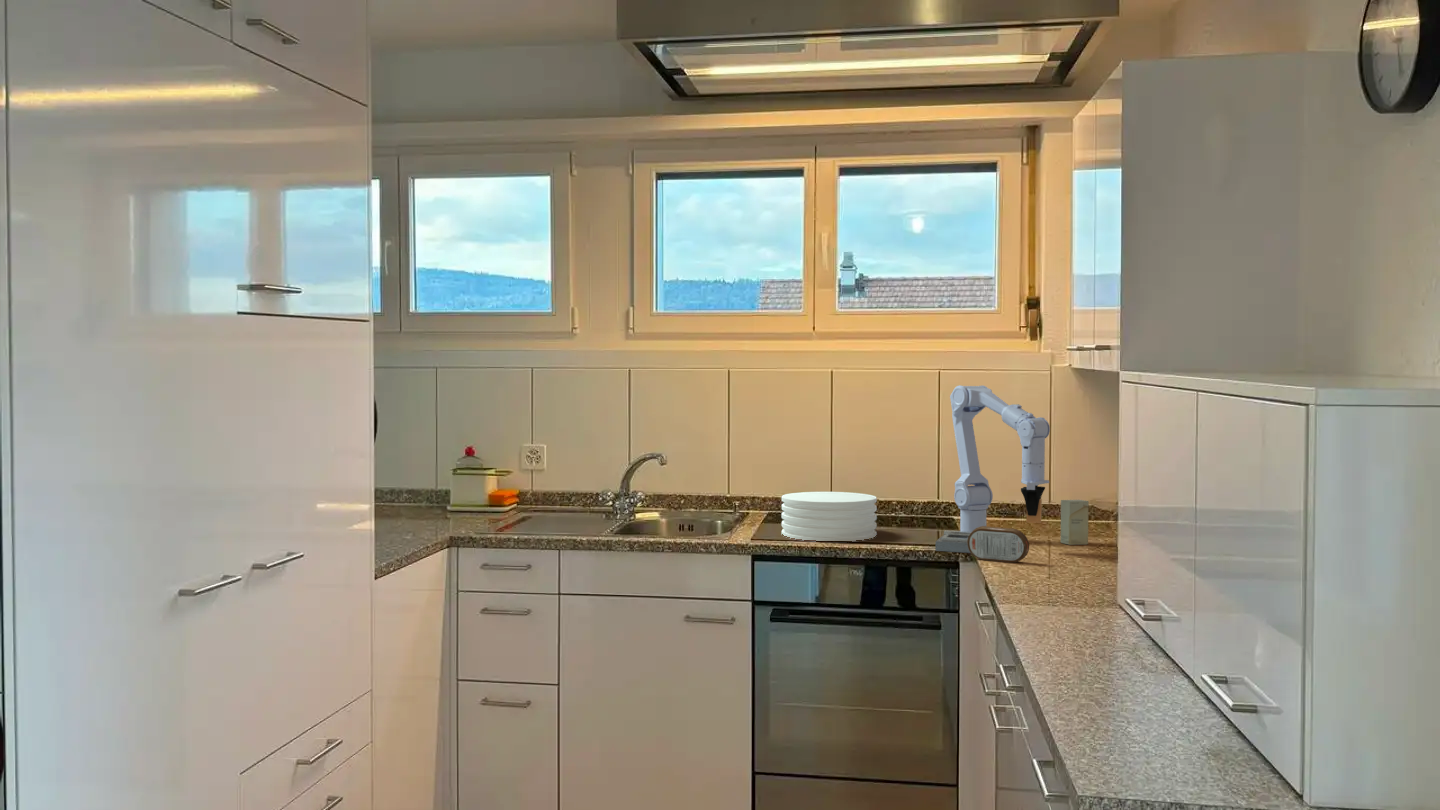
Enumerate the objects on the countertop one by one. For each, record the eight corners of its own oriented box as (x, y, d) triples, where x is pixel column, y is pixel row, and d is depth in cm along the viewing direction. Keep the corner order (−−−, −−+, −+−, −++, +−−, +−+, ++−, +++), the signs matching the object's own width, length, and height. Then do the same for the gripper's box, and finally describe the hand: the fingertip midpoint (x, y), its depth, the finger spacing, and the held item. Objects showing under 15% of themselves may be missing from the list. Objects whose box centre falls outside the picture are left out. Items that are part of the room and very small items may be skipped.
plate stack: (883, 542, 272) (883, 502, 271) (783, 542, 272) (783, 501, 272) (869, 528, 300) (869, 491, 299) (779, 528, 300) (779, 491, 300)
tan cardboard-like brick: (1027, 520, 258) (1027, 498, 257) (1041, 521, 256) (1041, 498, 256) (1026, 522, 254) (1026, 499, 254) (1040, 523, 253) (1040, 500, 253)
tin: (1029, 562, 239) (1029, 529, 239) (1026, 564, 237) (1026, 530, 236) (969, 557, 247) (969, 524, 247) (965, 559, 244) (966, 526, 244)
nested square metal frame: (943, 544, 268) (943, 530, 268) (980, 546, 264) (980, 532, 264) (935, 550, 257) (935, 536, 257) (973, 553, 253) (973, 538, 253)
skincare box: (1069, 545, 266) (1069, 501, 265) (1059, 543, 270) (1059, 499, 270) (1089, 544, 267) (1089, 500, 267) (1079, 542, 271) (1079, 499, 271)
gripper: (1047, 465, 247) (1046, 518, 247) (1051, 461, 260) (1050, 512, 260) (1018, 465, 250) (1018, 517, 250) (1023, 461, 263) (1023, 510, 263)
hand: (1032, 514), depth 255 cm, fingers closed on tan cardboard-like brick, 3 cm apart
